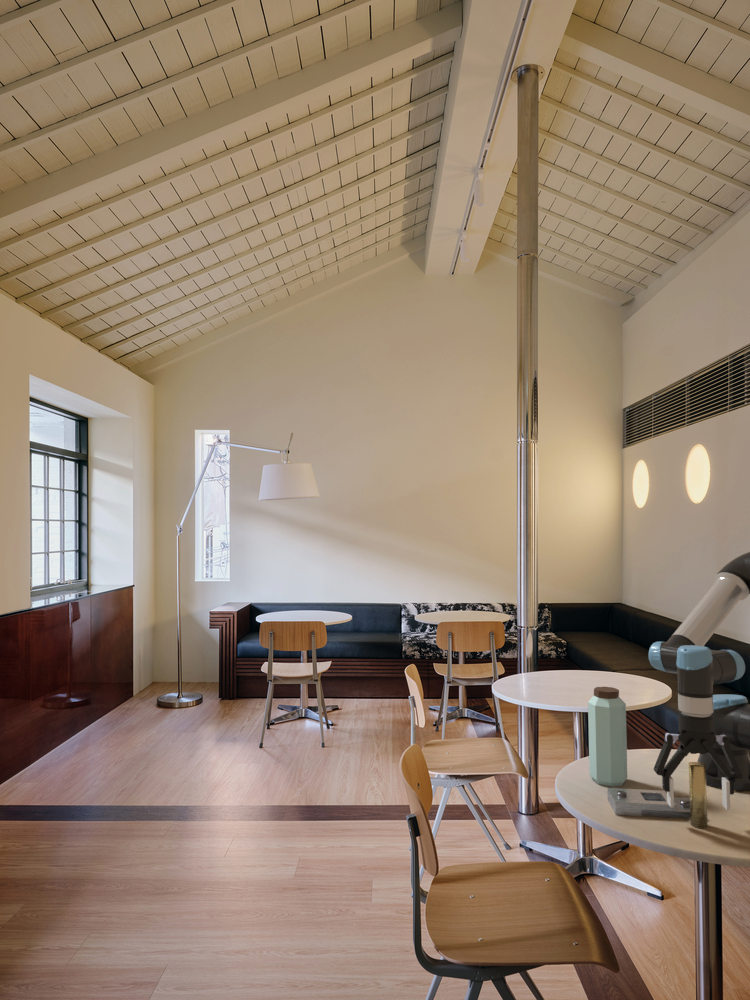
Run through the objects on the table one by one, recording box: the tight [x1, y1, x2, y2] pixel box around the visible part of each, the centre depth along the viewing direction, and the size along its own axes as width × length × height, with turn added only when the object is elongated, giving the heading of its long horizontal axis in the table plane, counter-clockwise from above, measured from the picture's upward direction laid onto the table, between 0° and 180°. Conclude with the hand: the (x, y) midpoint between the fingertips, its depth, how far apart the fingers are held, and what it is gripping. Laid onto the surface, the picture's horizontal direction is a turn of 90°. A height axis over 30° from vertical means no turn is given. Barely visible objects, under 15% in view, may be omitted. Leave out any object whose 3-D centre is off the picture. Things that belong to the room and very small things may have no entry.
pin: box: [688, 761, 708, 830], centre depth 154 cm, size 4×4×14 cm
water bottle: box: [587, 686, 628, 787], centre depth 182 cm, size 10×10×25 cm
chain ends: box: [607, 787, 690, 820], centre depth 163 cm, size 20×9×4 cm, turn 82°
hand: (698, 806), depth 154 cm, fingers open, 12 cm apart
